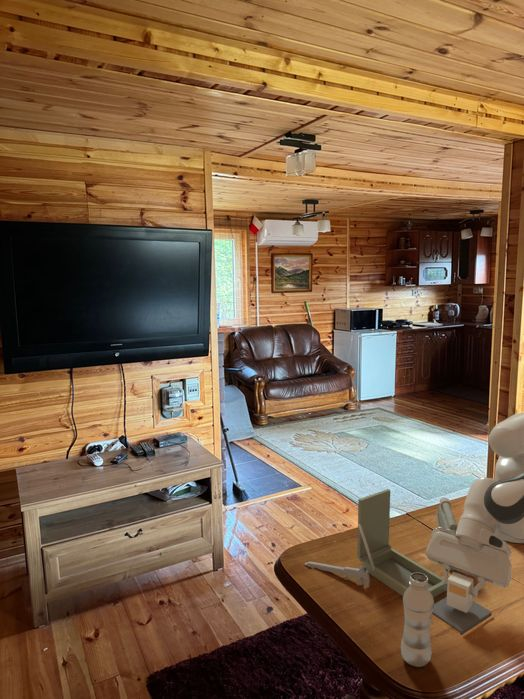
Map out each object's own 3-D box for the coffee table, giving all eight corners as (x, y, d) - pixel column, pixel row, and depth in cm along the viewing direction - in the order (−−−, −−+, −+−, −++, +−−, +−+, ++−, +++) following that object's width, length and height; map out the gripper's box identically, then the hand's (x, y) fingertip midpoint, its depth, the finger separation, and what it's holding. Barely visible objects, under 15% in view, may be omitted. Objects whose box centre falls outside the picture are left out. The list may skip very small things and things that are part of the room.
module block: (452, 596, 127) (453, 571, 126) (472, 604, 124) (473, 579, 123) (446, 605, 124) (447, 579, 123) (466, 613, 121) (468, 587, 120)
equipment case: (386, 553, 151) (387, 488, 148) (447, 591, 133) (451, 518, 130) (355, 567, 145) (356, 500, 141) (415, 609, 126) (418, 533, 123)
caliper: (369, 589, 135) (370, 567, 134) (368, 591, 134) (368, 569, 133) (305, 564, 147) (305, 544, 146) (303, 565, 146) (303, 546, 145)
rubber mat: (456, 594, 132) (456, 591, 132) (491, 615, 124) (491, 612, 124) (426, 611, 126) (427, 607, 125) (461, 635, 117) (461, 631, 117)
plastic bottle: (394, 655, 112) (396, 573, 109) (417, 645, 114) (420, 565, 111) (413, 675, 106) (417, 590, 103) (438, 664, 109) (441, 581, 106)
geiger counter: (465, 528, 139) (450, 489, 163) (441, 525, 140) (429, 488, 165) (462, 573, 141) (447, 529, 165) (438, 571, 143) (427, 527, 167)
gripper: (431, 520, 134) (415, 570, 128) (514, 546, 121) (500, 603, 115) (437, 528, 138) (422, 577, 132) (517, 554, 125) (505, 610, 119)
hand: (459, 589), depth 123 cm, fingers closed on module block, 5 cm apart
